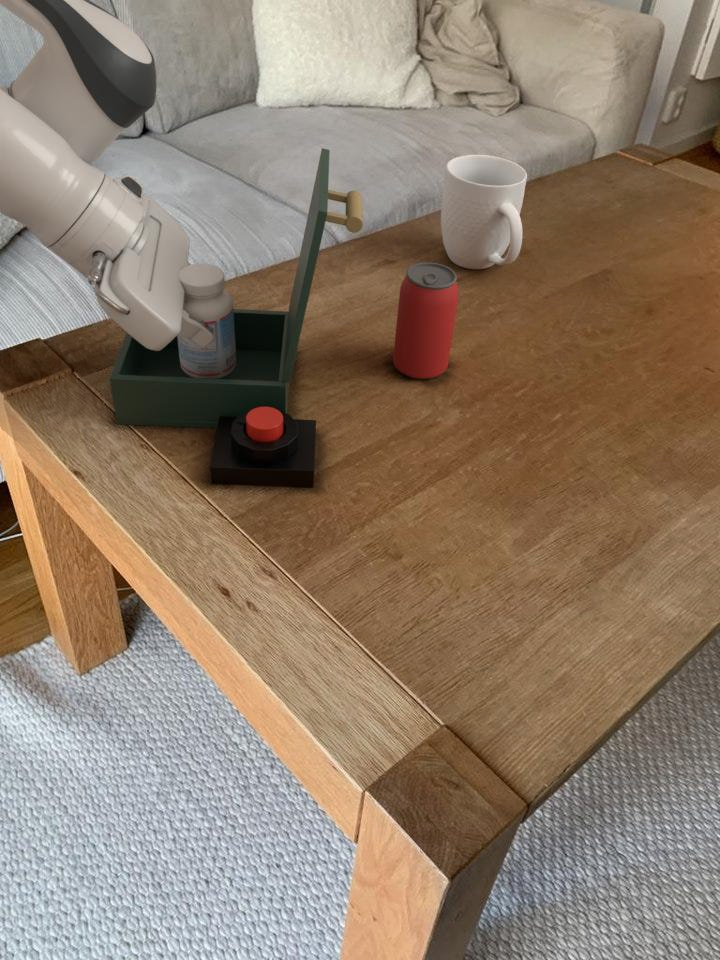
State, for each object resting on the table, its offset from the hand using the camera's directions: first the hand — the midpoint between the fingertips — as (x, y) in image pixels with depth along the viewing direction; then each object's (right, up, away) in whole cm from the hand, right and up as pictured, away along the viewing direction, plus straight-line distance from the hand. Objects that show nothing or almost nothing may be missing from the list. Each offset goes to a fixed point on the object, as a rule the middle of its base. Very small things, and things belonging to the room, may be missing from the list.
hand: (210, 320), depth 86 cm
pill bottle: (-1, -5, +4) cm, 6 cm away
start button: (+6, -12, -5) cm, 15 cm away
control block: (+6, -15, -3) cm, 16 cm away
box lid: (+10, +5, -4) cm, 12 cm away
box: (-1, -6, +5) cm, 9 cm away
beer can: (+23, -3, +11) cm, 26 cm away
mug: (+32, +14, +32) cm, 48 cm away
